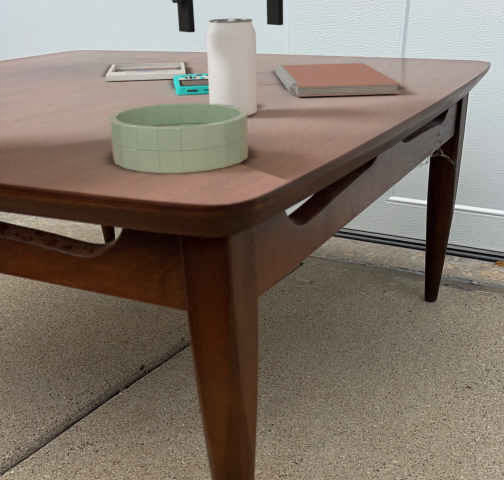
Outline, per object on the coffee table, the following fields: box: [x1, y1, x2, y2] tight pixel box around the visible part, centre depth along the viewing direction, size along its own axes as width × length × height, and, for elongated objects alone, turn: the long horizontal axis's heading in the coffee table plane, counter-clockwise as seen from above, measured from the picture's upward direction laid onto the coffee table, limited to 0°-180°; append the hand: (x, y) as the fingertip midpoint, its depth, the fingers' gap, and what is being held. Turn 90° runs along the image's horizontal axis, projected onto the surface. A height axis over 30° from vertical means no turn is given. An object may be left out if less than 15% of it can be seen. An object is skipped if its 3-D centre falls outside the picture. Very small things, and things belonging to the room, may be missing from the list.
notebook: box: [274, 62, 401, 98], centre depth 118 cm, size 27×17×2 cm, turn 4°
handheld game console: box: [172, 73, 209, 96], centre depth 118 cm, size 10×16×1 cm, turn 8°
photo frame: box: [105, 61, 187, 82], centre depth 134 cm, size 15×1×18 cm
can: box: [206, 18, 258, 118], centre depth 92 cm, size 6×6×12 cm
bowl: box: [108, 102, 249, 174], centre depth 69 cm, size 13×13×5 cm
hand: (232, 28), depth 90 cm, fingers open, 13 cm apart
